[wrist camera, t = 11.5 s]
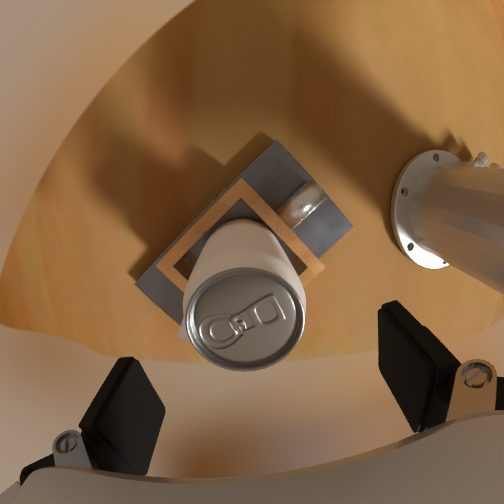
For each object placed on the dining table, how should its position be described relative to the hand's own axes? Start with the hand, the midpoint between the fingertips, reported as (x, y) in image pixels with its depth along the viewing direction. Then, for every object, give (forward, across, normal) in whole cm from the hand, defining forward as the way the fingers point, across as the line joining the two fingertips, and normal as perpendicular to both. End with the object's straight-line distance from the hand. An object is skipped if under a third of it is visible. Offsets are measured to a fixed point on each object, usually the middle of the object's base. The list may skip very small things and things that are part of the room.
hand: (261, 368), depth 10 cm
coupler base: (+16, +1, 0) cm, 16 cm away
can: (+15, +1, 0) cm, 15 cm away
